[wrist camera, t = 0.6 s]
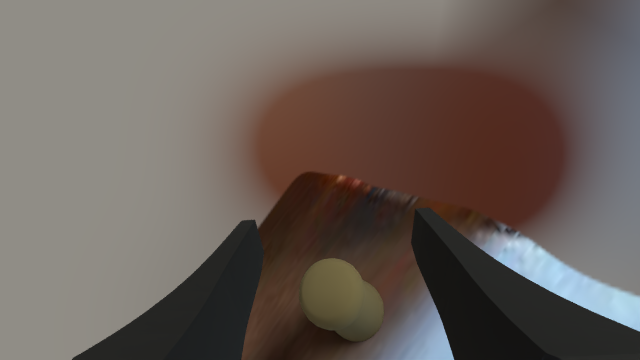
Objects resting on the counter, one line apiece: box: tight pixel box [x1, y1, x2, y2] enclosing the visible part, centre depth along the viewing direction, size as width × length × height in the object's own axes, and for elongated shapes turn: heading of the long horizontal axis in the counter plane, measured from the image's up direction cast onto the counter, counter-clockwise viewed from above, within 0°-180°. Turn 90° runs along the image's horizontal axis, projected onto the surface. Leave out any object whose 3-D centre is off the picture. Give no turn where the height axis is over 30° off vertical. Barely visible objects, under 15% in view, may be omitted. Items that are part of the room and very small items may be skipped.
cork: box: [299, 258, 384, 342], centre depth 24 cm, size 6×6×11 cm
